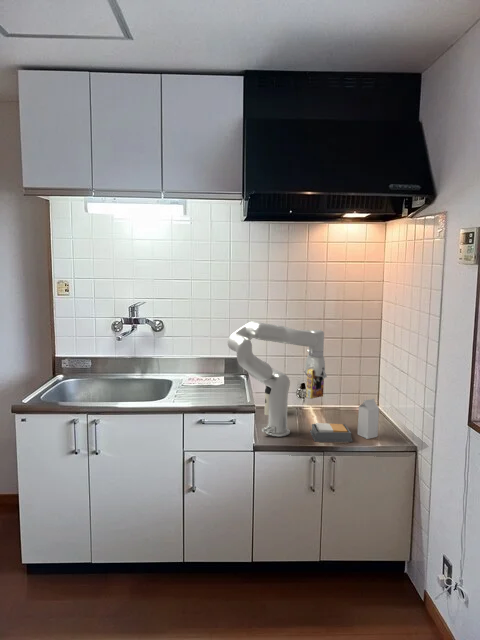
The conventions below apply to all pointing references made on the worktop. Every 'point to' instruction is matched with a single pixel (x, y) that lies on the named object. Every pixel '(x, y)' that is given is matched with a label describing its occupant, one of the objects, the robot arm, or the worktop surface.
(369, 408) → the milk carton
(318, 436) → the breaker housing
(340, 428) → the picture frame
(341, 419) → the worktop surface
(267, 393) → the travel mug
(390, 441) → the worktop surface
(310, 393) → the candy box
